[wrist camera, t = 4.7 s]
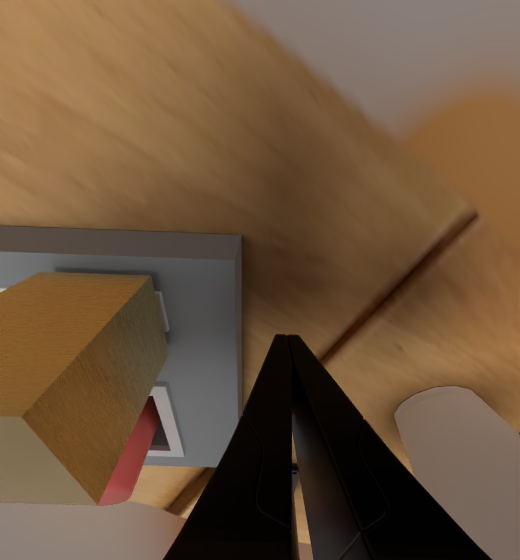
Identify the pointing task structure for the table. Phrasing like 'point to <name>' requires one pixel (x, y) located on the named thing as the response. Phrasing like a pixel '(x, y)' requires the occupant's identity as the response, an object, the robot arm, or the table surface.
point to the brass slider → (73, 381)
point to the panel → (163, 321)
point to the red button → (132, 456)
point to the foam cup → (466, 464)
